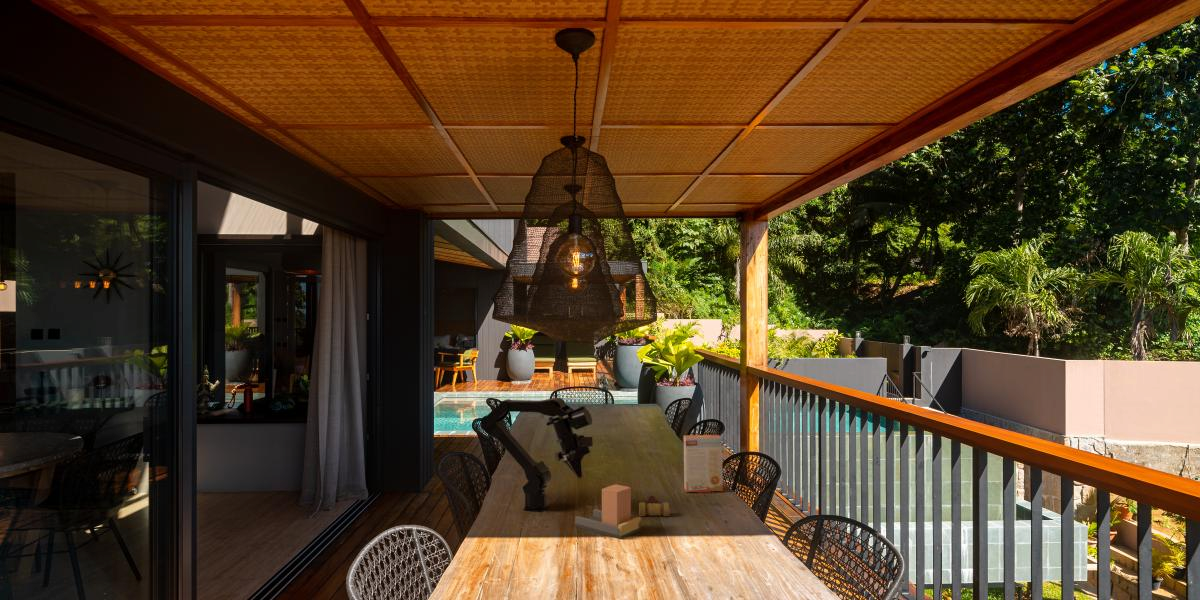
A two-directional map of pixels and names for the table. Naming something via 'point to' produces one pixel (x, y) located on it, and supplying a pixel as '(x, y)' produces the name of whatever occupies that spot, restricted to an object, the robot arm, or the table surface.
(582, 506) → the table surface
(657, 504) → the gavel
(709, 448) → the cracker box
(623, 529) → the gray tray
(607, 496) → the block
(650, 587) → the table surface
